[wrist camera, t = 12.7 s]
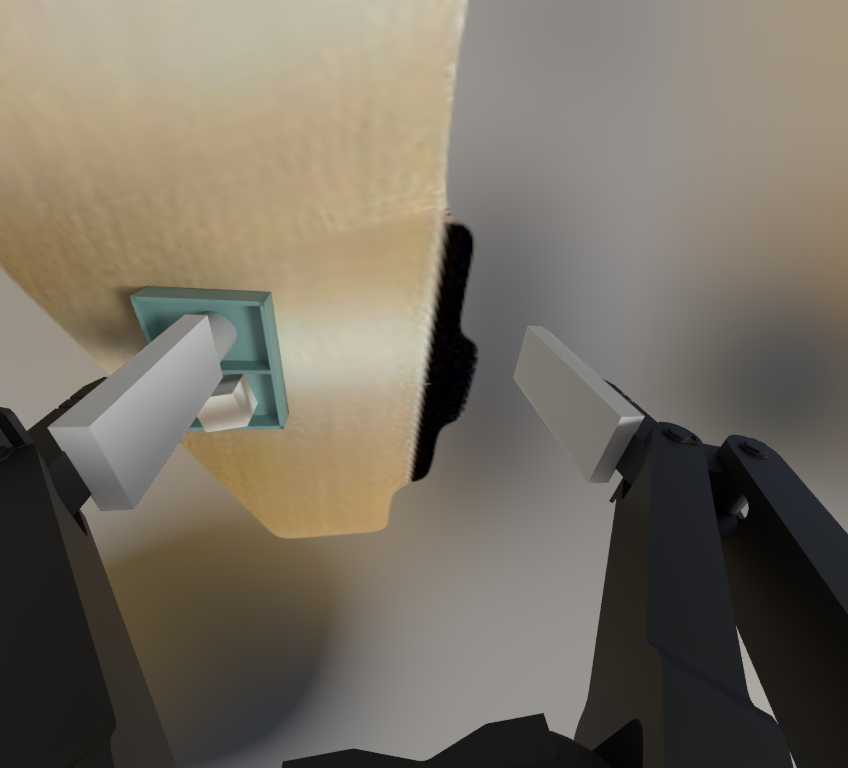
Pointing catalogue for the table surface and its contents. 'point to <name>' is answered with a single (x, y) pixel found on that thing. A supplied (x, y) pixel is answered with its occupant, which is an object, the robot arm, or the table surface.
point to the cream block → (229, 404)
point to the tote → (247, 355)
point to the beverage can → (221, 333)
